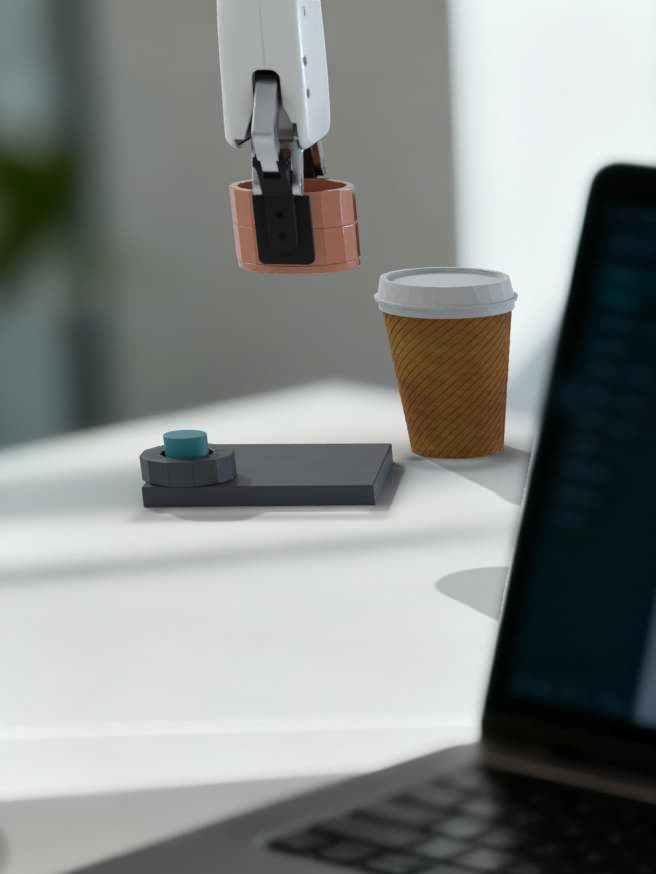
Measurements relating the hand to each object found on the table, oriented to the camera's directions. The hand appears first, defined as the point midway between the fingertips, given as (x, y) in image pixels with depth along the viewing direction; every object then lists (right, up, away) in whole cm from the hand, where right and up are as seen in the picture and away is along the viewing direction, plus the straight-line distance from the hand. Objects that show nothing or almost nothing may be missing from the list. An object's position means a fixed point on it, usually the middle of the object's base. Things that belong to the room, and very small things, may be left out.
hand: (297, 251), depth 146 cm
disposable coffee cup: (+4, -9, +22) cm, 24 cm away
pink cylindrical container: (0, -1, 0) cm, 1 cm away
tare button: (-9, -12, +5) cm, 16 cm away
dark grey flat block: (-5, -13, +10) cm, 17 cm away
